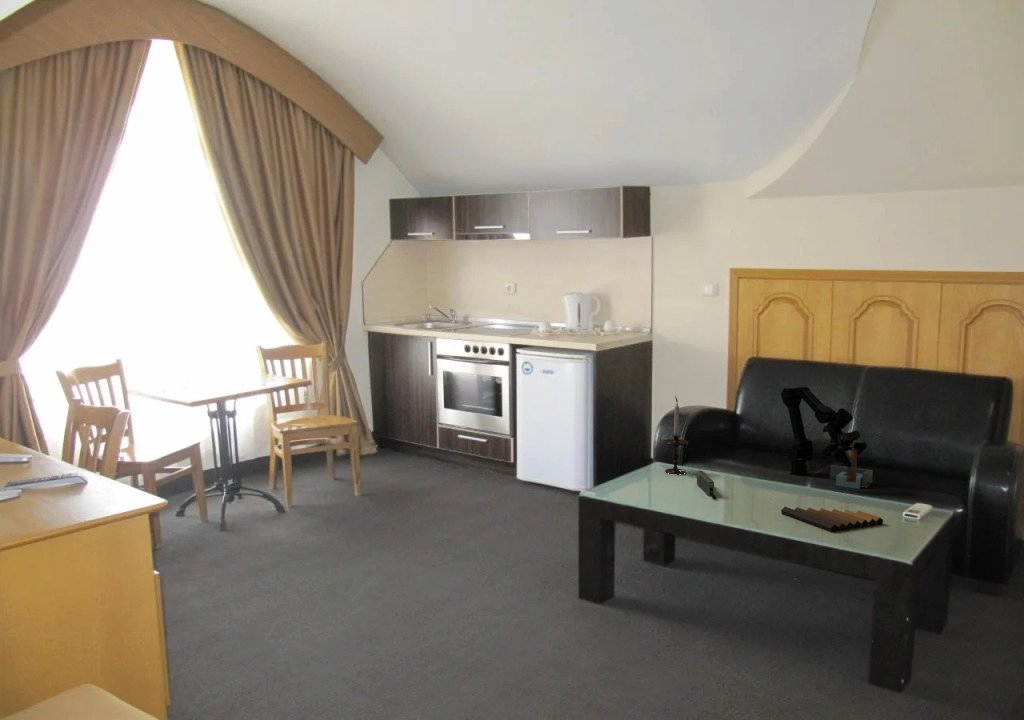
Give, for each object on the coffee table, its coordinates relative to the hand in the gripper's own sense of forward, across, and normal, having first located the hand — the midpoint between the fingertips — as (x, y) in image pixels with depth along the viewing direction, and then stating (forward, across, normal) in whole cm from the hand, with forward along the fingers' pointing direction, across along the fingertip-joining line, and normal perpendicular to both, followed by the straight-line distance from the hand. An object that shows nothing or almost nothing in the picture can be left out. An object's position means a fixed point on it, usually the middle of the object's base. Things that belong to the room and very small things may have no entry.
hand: (854, 466), depth 356 cm
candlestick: (-30, -52, +46) cm, 76 cm away
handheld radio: (-6, -57, +22) cm, 61 cm away
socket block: (0, +8, +16) cm, 17 cm away
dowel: (+4, 0, +6) cm, 7 cm away
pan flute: (+29, -35, -12) cm, 47 cm away
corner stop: (-2, +9, +17) cm, 19 cm away
